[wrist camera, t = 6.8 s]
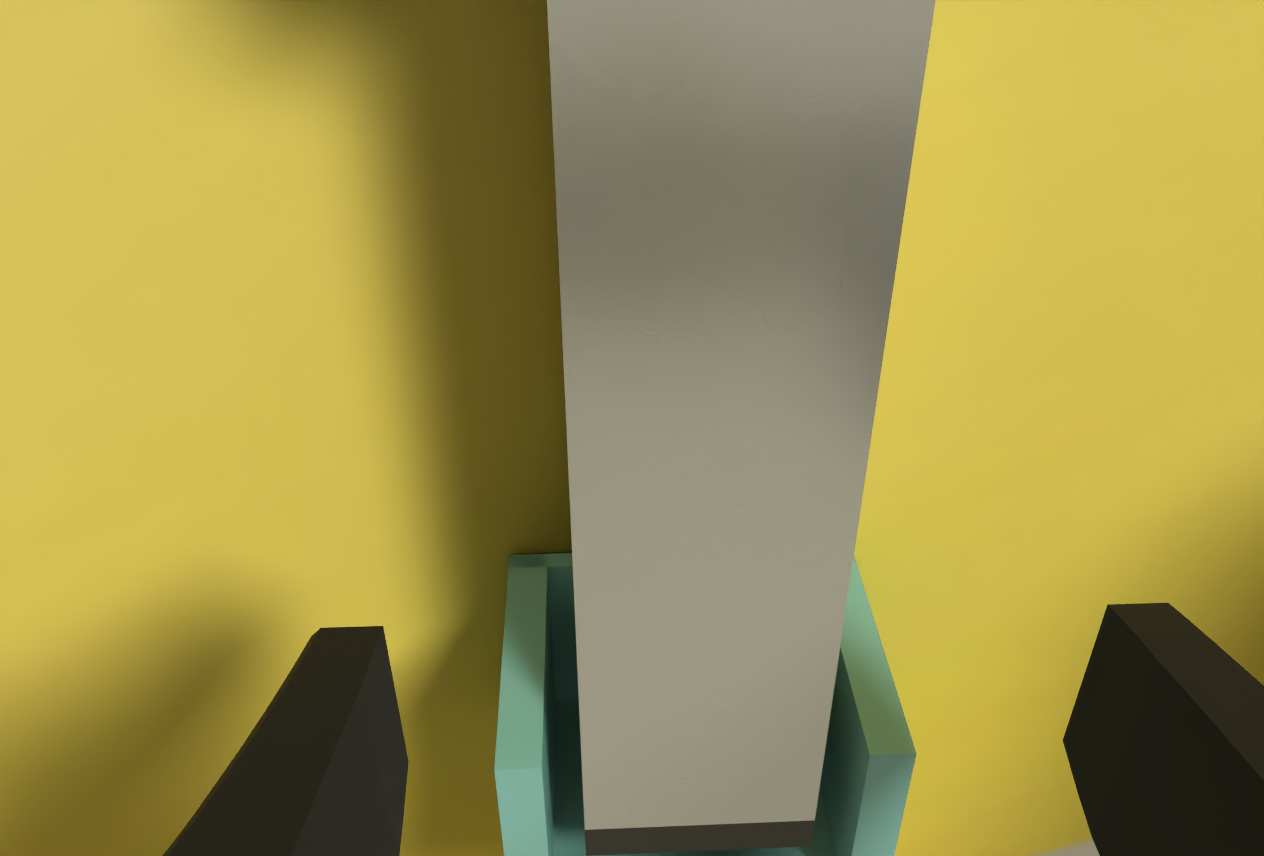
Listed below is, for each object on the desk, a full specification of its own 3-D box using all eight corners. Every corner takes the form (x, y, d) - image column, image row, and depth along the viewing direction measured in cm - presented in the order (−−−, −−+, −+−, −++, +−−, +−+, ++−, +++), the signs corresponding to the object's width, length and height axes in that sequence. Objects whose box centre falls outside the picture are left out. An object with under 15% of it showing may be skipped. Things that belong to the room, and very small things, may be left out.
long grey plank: (882, -359, 10) (987, -364, 8) (776, 676, 18) (810, 847, 16) (540, -357, 10) (530, -362, 8) (583, 683, 18) (585, 855, 16)
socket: (850, 543, 18) (916, 753, 14) (827, 701, 20) (880, 917, 16) (509, 555, 17) (494, 769, 14) (523, 713, 20) (513, 933, 16)
